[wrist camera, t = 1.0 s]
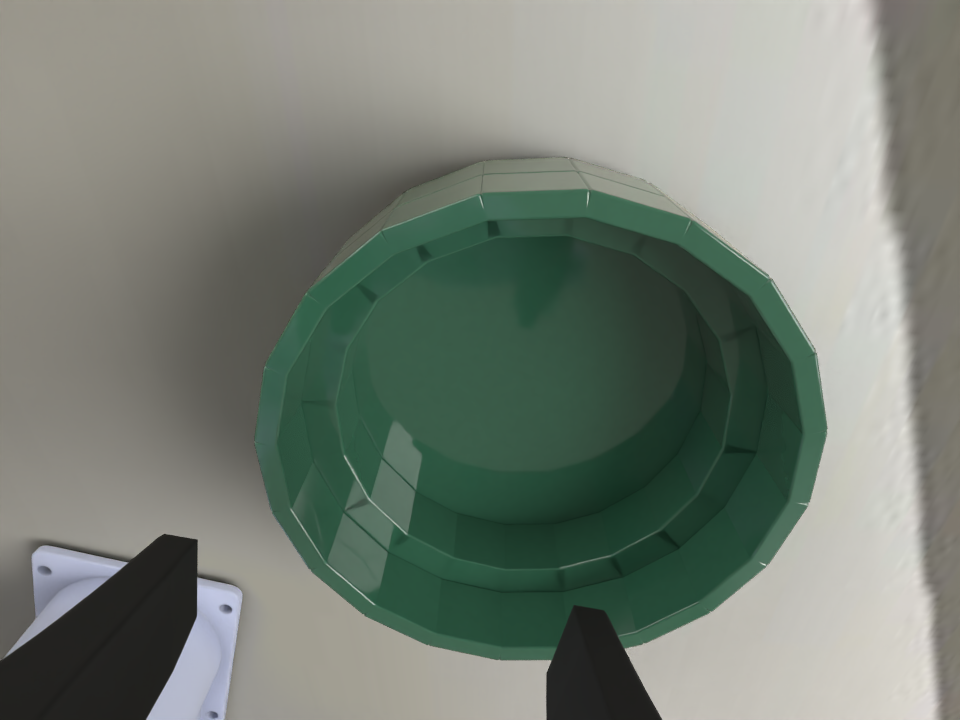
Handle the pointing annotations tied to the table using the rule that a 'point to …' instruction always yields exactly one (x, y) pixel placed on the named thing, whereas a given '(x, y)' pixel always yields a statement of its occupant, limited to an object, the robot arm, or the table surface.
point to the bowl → (538, 412)
